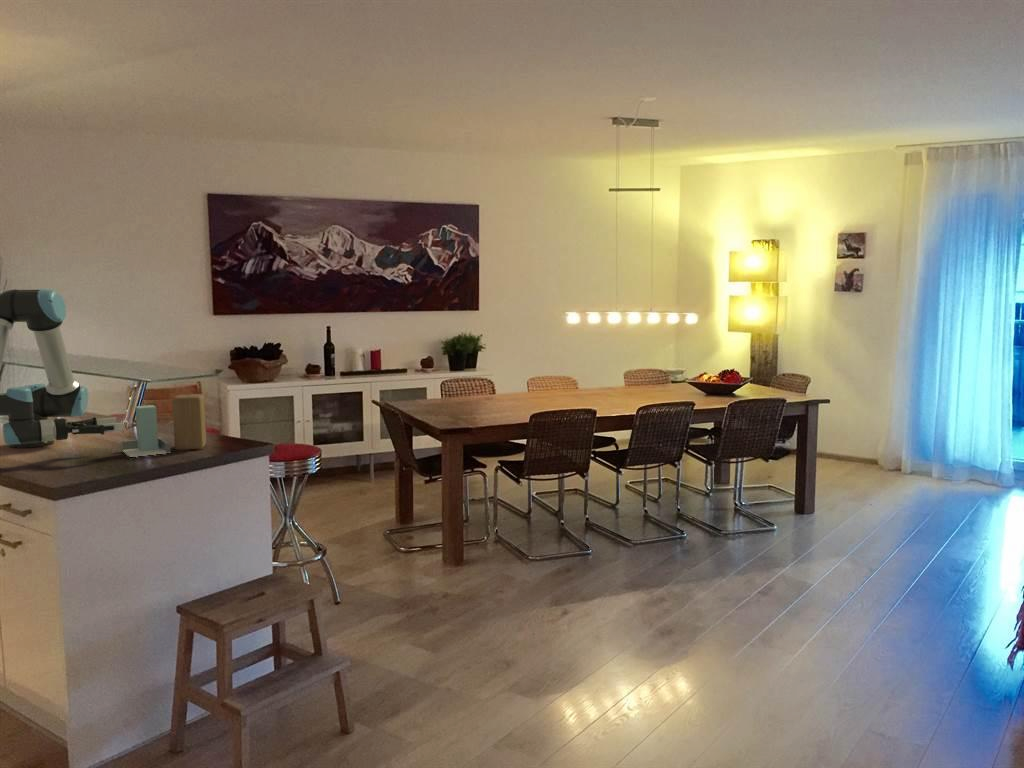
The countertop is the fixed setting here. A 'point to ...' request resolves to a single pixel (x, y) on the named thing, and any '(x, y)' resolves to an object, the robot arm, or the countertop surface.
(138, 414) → the teal post
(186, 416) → the wooden block
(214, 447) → the countertop surface
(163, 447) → the corner jig
